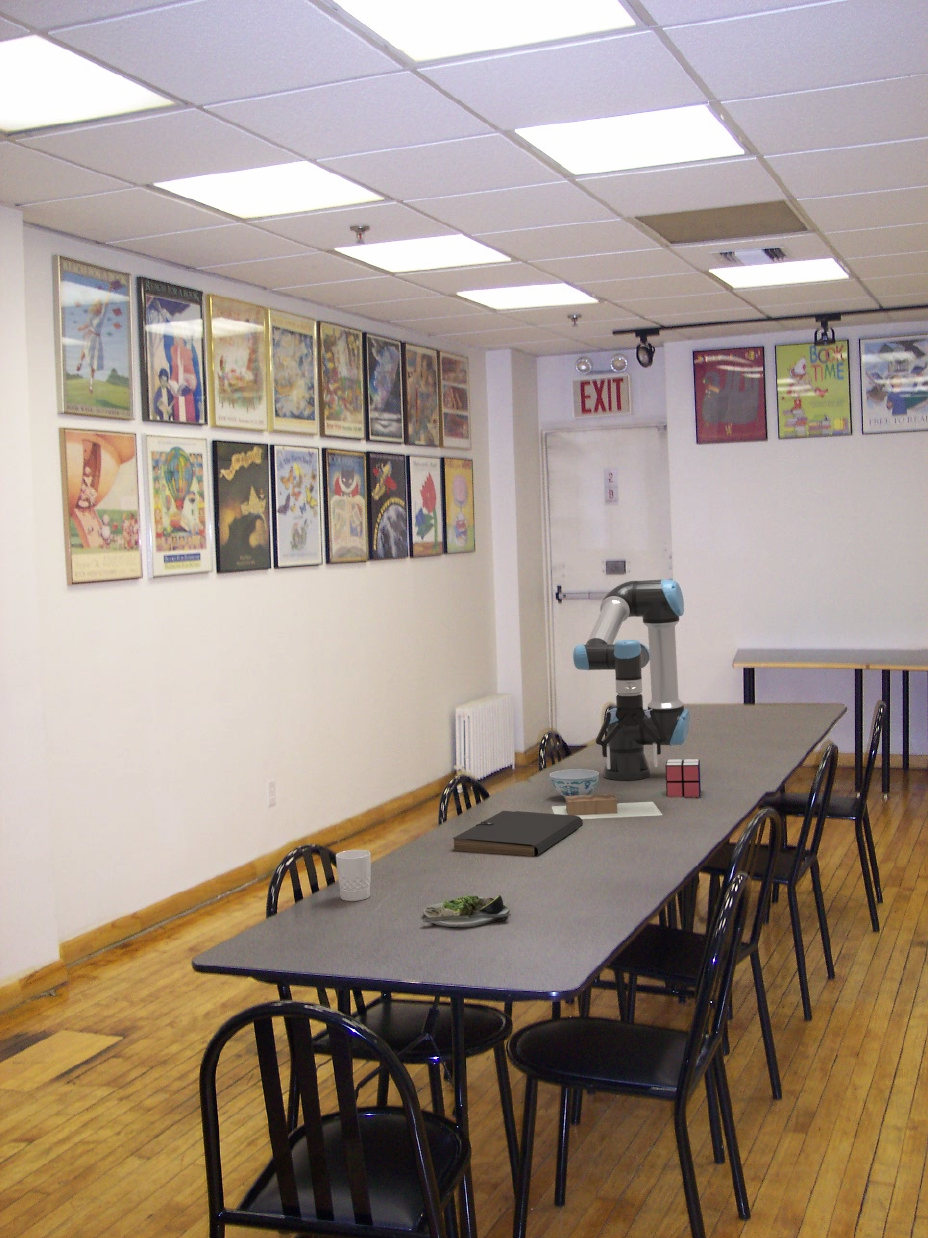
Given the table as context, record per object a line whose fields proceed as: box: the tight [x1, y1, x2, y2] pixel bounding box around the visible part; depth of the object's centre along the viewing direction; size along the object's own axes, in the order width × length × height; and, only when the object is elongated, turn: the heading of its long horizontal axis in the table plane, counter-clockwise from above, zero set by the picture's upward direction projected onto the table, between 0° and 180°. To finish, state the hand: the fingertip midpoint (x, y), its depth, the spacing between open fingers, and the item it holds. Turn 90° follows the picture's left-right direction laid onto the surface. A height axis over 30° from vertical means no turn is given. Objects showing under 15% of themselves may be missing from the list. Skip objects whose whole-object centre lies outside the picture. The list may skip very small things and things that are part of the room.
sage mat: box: [551, 801, 663, 820], centre depth 354 cm, size 18×30×1 cm, turn 90°
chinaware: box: [549, 768, 600, 800], centre depth 374 cm, size 15×15×8 cm
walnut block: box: [565, 793, 618, 815], centre depth 354 cm, size 8×4×14 cm
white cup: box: [335, 849, 372, 902], centre depth 280 cm, size 8×8×10 cm
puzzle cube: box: [665, 758, 702, 798], centre depth 373 cm, size 10×10×10 cm
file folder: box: [452, 810, 584, 857], centre depth 328 cm, size 33×4×24 cm
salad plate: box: [422, 894, 512, 928], centre depth 261 cm, size 19×18×5 cm
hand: (632, 767), depth 353 cm, fingers open, 13 cm apart
